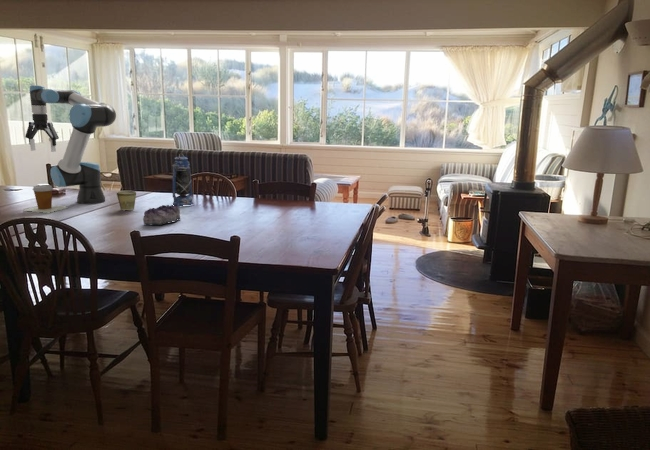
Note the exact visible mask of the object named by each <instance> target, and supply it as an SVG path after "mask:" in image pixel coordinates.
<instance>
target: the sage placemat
mask: <svg viewBox="0 0 650 450" xmlns="http://www.w3.org/2000/svg"><path fill="white" fill-rule="evenodd" d="M65 209H69V206H64V205H63V206H62V205H61V206H60V205H52V208H50V209H38V206H35V207H29V208H27V209H23V210H22V211H23V212H27V211H32V212H31V213H39V212H43V213H42V214H50V212H51V213H54V211H55V212H58V211H61V210H65Z"/></svg>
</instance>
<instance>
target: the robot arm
mask: <svg viewBox="0 0 650 450" xmlns="http://www.w3.org/2000/svg"><path fill="white" fill-rule="evenodd" d="M29 99H30V104H31V105H30V106H31V107H30V108H31V117H32V121H28V127H27V130H26V132H25V136H24V137H25V139H28V144H29V146H30V151H31V152H33V151H36V143H35V141H36V140H35V136H36V135H37V133H38V131H44V132H45V133H46V135H47V136H48V137H49V139H50V140H49V141H50V142H49V143H50V152H53V153H54V152H56V151H57V150H56V146H57V140H59V139H60V137H59V135H58V134H57V131H56V129H55V128H54V125H53V122H48V120H49V119H48V114H47V113H48V111H47V104H48V105H50V104H60V105H61V104H62V105H63V104H64V105H69V106H71V108H70V109H69V113H68V116H69V123H70V124H71V127H72V132H71V133H70V138H69V140H68V143H67V146H66V148H65V152H64V155H63V157H62V159H60V160H59V161H58V163H57V165H54V166H52V167H51V168H50V174H49V175H50V178H51V180H52V183H53V184H54V185H55V186H56V187H58V188H66V187H73V186H75V187H76V186H79V188H78V189H79V190H78V193H77V197H76V202H77V203H78V204H87V205H89V204H99V203H100V204H101V203H103V202H106V196H105V194H104V190H103V189H102V180H101V179H102V178H101V168H100V164H98V163H97V162H88V161H87V162H86V161H82V159H83V156H84V154H85V150H86V148H87V145H88V143H89V139H90V137H91V135H92V134H94V133H96V129H97V128H98V127H99V128H100V127H109V126H111V125H112V124H113V123H114V122H115V121H116V118H117V114H116V113H117V112H116V110H115V109H114V108H113V106H111V105H110V104H107V103H104V102H98V101H96V100H93V99H92V98H89V97H87V96H84V95H82V93H80V91H79V90H72V89H71V90H68V89H51V88H45V86H44V85H32V84H31V85H29Z"/></svg>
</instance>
